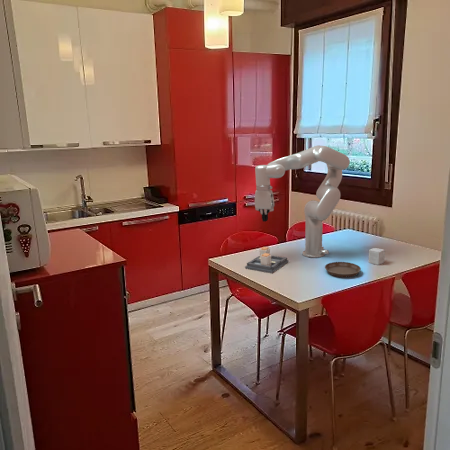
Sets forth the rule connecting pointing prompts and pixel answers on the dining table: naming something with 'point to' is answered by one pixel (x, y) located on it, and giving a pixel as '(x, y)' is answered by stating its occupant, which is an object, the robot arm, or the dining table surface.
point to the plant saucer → (342, 269)
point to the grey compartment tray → (275, 265)
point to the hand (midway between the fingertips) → (265, 220)
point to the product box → (376, 256)
